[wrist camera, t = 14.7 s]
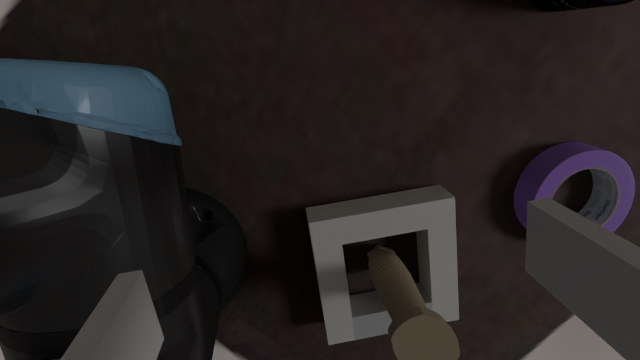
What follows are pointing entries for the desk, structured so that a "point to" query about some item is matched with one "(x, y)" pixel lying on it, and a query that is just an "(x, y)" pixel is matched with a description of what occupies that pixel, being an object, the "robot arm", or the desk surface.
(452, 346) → the handle
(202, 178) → the desk surface
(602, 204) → the masking tape
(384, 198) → the socket
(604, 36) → the desk surface
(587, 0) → the supplement bottle
